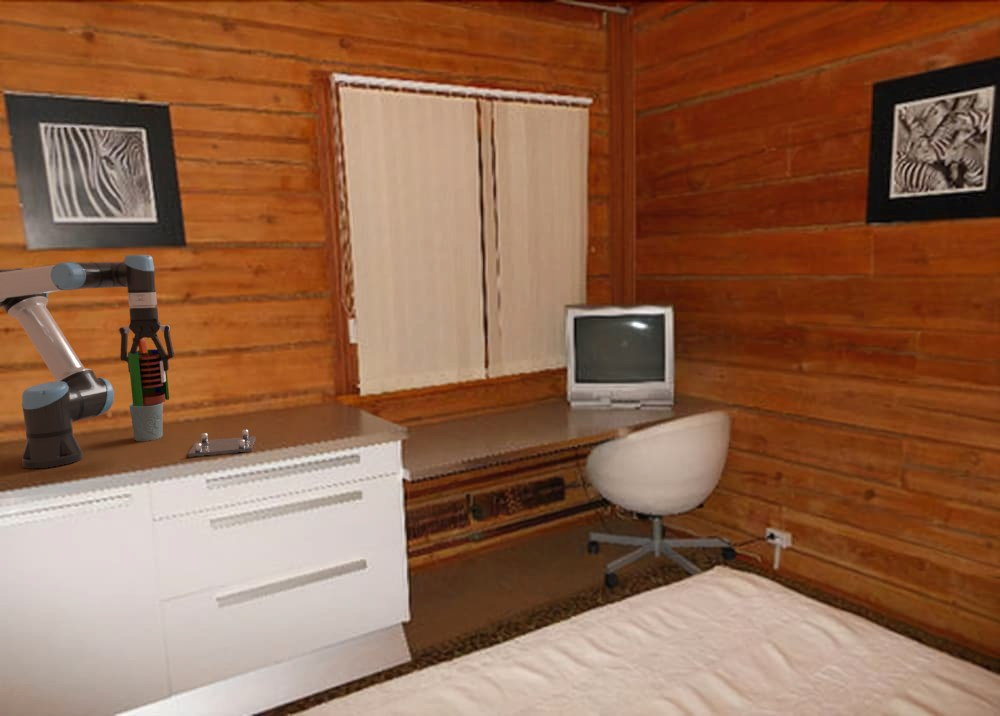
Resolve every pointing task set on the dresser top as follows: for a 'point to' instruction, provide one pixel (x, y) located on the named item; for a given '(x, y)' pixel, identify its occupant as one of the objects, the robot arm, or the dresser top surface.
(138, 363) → the motor
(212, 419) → the dresser top surface
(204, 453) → the mounting plate
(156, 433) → the grey embossed cup
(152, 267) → the robot arm
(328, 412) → the dresser top surface
